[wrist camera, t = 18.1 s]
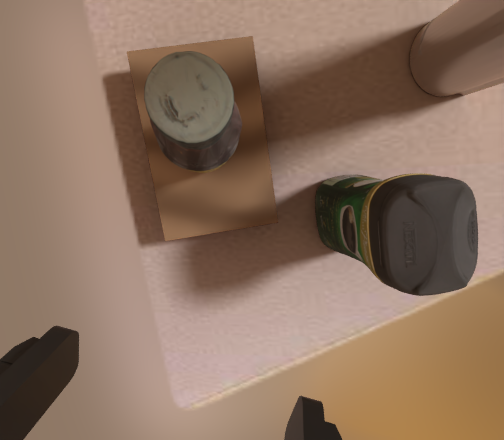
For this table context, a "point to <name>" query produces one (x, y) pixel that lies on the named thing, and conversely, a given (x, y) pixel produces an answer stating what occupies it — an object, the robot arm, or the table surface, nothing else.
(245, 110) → the walnut shelf
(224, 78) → the sauce bottle
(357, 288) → the table surface
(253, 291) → the table surface
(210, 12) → the table surface
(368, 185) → the coffee jar
